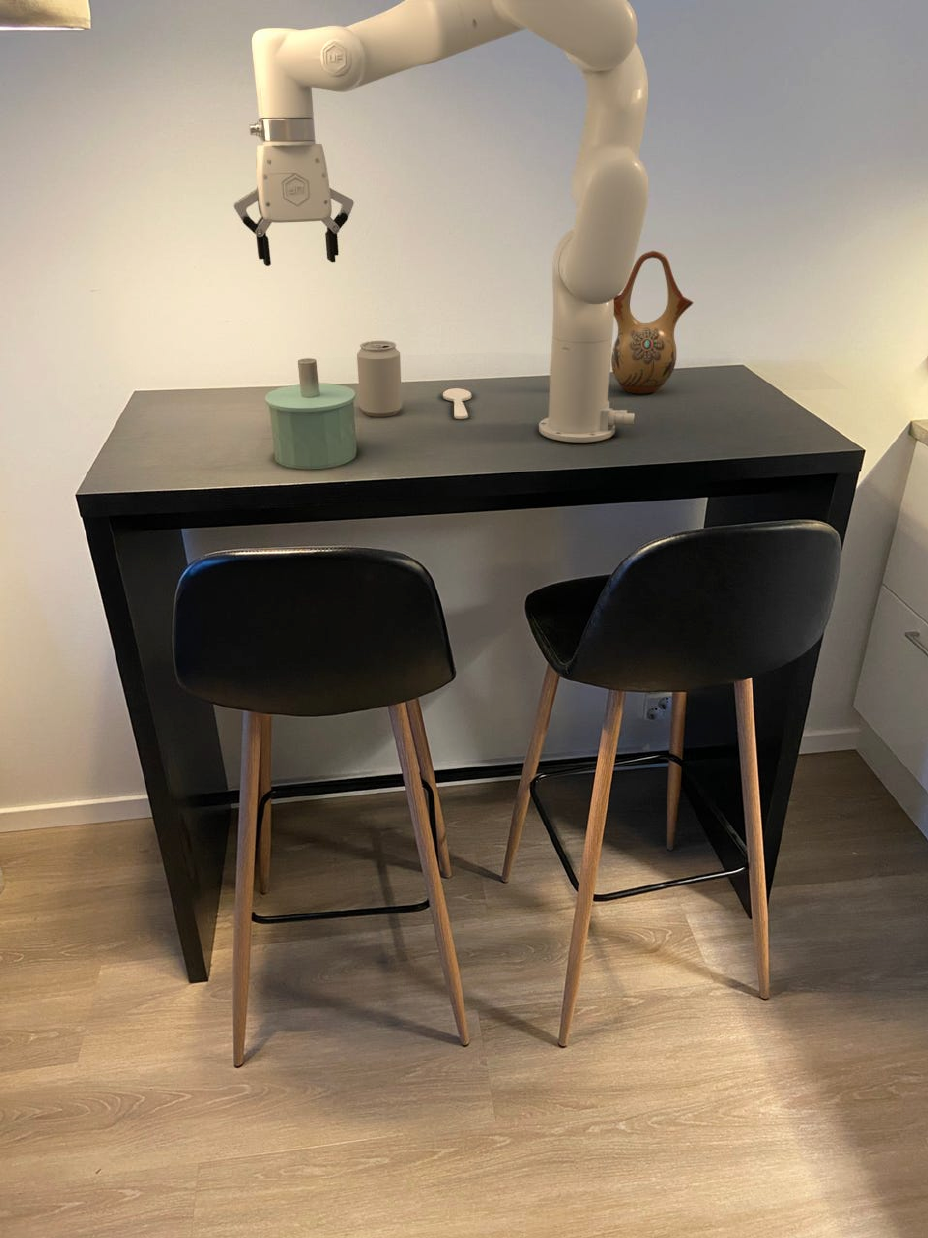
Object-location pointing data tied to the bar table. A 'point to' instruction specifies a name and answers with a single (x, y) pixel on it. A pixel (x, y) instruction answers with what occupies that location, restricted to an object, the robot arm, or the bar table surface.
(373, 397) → the can
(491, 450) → the bar table surface
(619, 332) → the ceramic vessel
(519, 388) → the bar table surface
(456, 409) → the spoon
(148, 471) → the bar table surface
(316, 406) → the pot lid
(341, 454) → the pot
